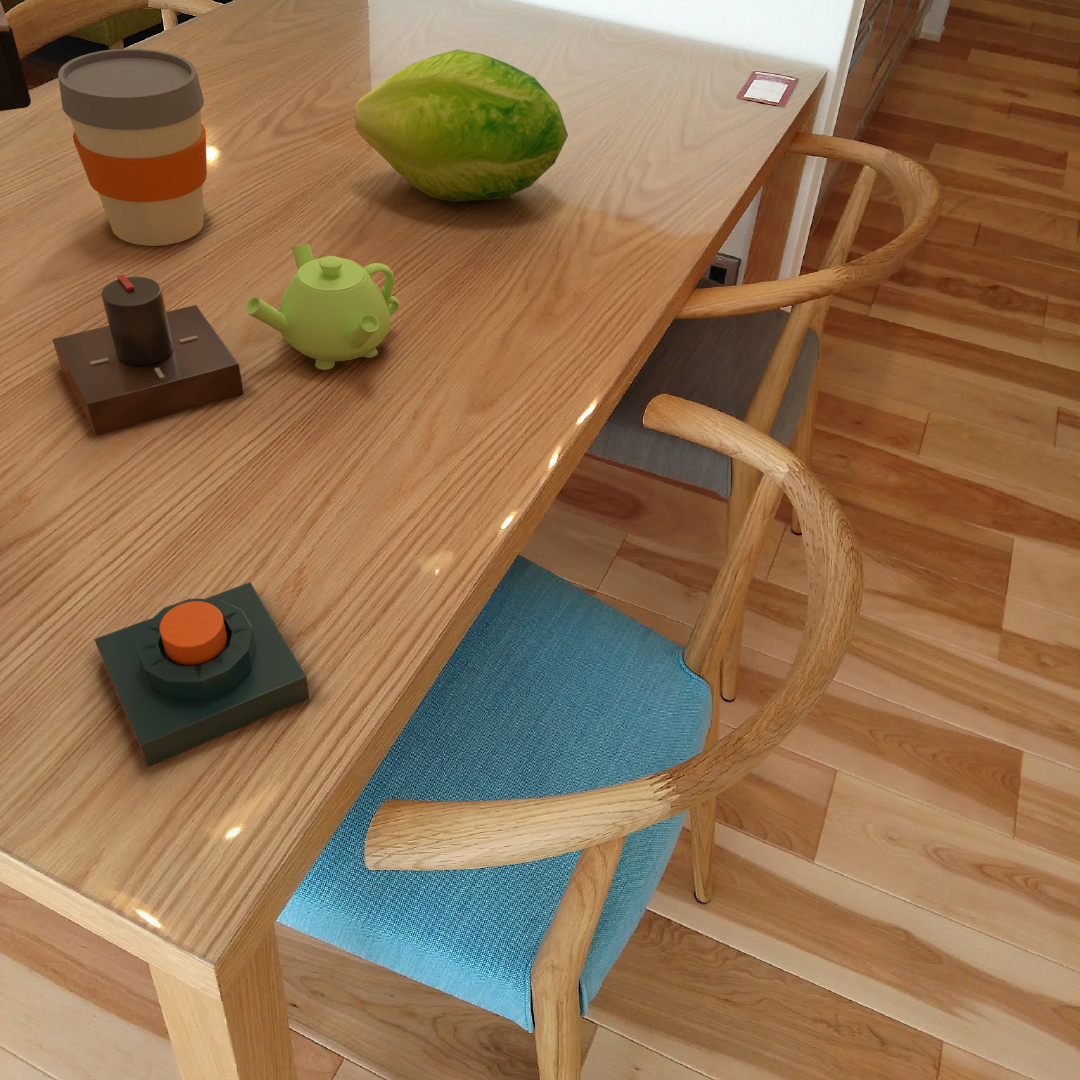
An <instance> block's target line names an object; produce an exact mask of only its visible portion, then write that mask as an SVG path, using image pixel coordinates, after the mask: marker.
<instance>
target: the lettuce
mask: <svg viewBox="0 0 1080 1080" xmlns="http://www.w3.org/2000/svg"><path fill="white" fill-rule="evenodd" d="M353 118H354V129H355V130H356V132H357V133H358V135H359V136H360V137H361V138H362V139H363V140H364V141H365V142H366V143H367V144H368V145H369V146H370V147H371V148H372V149H374V150H375V151H376V152H377V154H379V155H380V156H381V157H382V158H383V159H384V160H385V161H386V162H388V163H389V165H390V166H391V168H392V169H394V170H395V171H396V172H397V173H398V174H399V175H400V176H401V177H403V179H404V180H405V181H406V182H408V183H409V184H410V185H411V186H412V187H415V189H417V190H419V191H420V192H422V193H424V194H425V195H426V196H428V197H430V198H434V199H437V200H443V201H448V202H452V203H457V202H471V201H482V200H483V201H487V200H503V199H505V198H508V197H510V196H512V195H514V194H516V193H519V192H521V191H523V190H526V189H527V188H531V186H532V185H533V184H534V183H536V182H537V181H538V179H540V178H541V177H542V176H543V175H544V174H545V173H546V172H547V171H548V170H549V169H550V168H551V167H552V166H553V165H554V164H555V163H556V161H557V160H558V157H559V155H560V153H561V151H562V149H563V148H564V145H565V143H566V141H567V139H568V137H569V134H568V131H567V127H566V124H565V122H564V117H563V116H562V112H561V109H560V105H559V104H558V103H557V102H556V101H555V99H554V98H553V97H552V96H551V95H550V94H549V93H548V91H547V90H546V89H545V88H544V87H543V85H542V84H541V83H540V82H539V81H538V79H536V77H534V76H533V75H531V74H529V73H526V72H525V71H523V70H521V69H519V68H518V67H515V66H513V65H511V64H509V63H507V62H505V61H502V60H500V59H496V58H493V57H492V56H489V55H486V54H483V53H479V52H473V51H468V50H463V49H454V50H451V51H447V52H443V53H439V54H436V55H432V56H430V57H427V58H425V59H422V60H419V61H417V62H413V63H412V64H410V65H408V66H407V67H404V68H403V69H401V70H400V71H398V72H396V73H394V74H393V75H391V76H390V77H388V78H387V79H385V80H383V81H382V82H381V83H379V84H378V85H376V87H374V88H373V89H372V90H370V91H368V92H367V93H366V94H364V95H363V96H362V97H361V98H359V100H358V101H356V103H355V105H354V109H353Z"/></svg>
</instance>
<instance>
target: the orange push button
mask: <svg viewBox="0 0 1080 1080" xmlns="http://www.w3.org/2000/svg"><path fill="white" fill-rule="evenodd" d="M160 634H161V638H162V642H163V645H164V649H165V652H166V654H167V655H168V657H169V658H170V659H172V660H173V661H175V662H176V663H179V664H182V665H199V664H203V663H206V662H209V661H211V660H212V659H214V658H215V657H217V656H218V655H219V654H220V653H221V652H222V651H223V649H224V647H225V645H226V642H227V634H226V629H225V625H224V620H223V616H222V613H221V612H220V610H219V609H218V608H216V607H215V606H214V605H212V604H209V603H206V602H201V601H192V602H186V603H183V604H180V605H178V606H176V607H174V608H172V609H171V610H170V611H168V612H167V613H166V614H165V616H164V617H163V619H162V621H161V623H160Z"/></svg>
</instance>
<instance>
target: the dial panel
mask: <svg viewBox="0 0 1080 1080" xmlns="http://www.w3.org/2000/svg"><path fill="white" fill-rule="evenodd" d="M166 314H167V319H168V324H169V329H170V334H171V339H172V343H173V351H172V353H171V355H170V356H169V357H168V358H166V359H165V360H163V361H161V362H158V363H156V364H152V365H145V366H136V365H130V364H127V363H124V362H123V361H121V360H120V359H119V358H118V357H117V354H116V351H115V347H114V343H113V339H112V335H111V331H110V327H109V325H105V326H101V327H96V328H92V329H88V330H84V331H80V332H75V333H71V334H67V335H64V336H59V337H55V338H54V337H53V339H52V344H53V346H54V350H55V353H56V356H57V361H58V363H59V367H60V370H61V372H62V373H63V375H64V377H65V379H66V381H67V383H68V385H69V387H70V388H71V391H72V392H73V395H74V397H75V398H76V400H77V402H78V404H79V405H80V408H81V409H82V411H83V413H84V415H85V417H86V419H87V421H88V423H89V425H90V427H91V429H92V430H93V432H94V434H95V435H100V434H101V435H102V434H104V433H108V432H111V431H115V430H118V429H122V428H125V427H129V426H132V425H136V424H140V423H143V422H147V421H150V420H154V419H157V418H161V417H164V416H168V415H172V414H175V413H179V412H183V411H186V410H190V409H194V408H196V407H197V408H198V407H200V406H204V405H208V404H210V403H215V402H218V401H222V400H225V399H230V398H232V397H236V396H239V395H243V394H244V389H243V387H244V386H243V384H242V383H243V382H242V381H243V380H242V376H241V369H240V364H239V362H238V361H237V359H236V358H235V357H234V355H233V354H232V351H230V350H229V348H228V347H227V346H226V344H225V343H224V341H223V339H221V337H220V336H219V334H218V333H217V331H216V330H215V328H213V326H212V325H211V323H210V322H209V320H208V319H207V317H206V316H205V315H204V314H203V312H202V311H201V310H200V308H199V307H198V305H197V304H193V305H191V306H186V307H182V308H178V309H177V308H176V309H174V310H169V311H166Z"/></svg>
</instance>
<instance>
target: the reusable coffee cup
mask: <svg viewBox="0 0 1080 1080" xmlns="http://www.w3.org/2000/svg"><path fill="white" fill-rule="evenodd" d="M57 78H58V84H59V92H60V100H61V106H62V110H63V113H64V114H65V115H66V116H68V117H69V120H70V122H71V125H72V127H73V135H72V140H73V143H74V145H75V148H76V151H77V154H78V156H79V158H80V159H79V160H80V161H81V164H82V166H83V169H84V172H85V175H86V178H87V180H88V183H89V185H90V186H91V188H92V189H93V190H94V191H95V192H97V193H98V196H99V199H100V202H101V204H102V207H103V210H104V212H105V215H106V217H107V220H108V223H109V225H110V228H111V231H112V233H113V234H114V235H115V236H116V237H117V238H118V239H120V240H122V241H124V242H127V243H129V244H133V245H138V246H147V247H154V246H155V247H158V246H169V245H174V244H178V243H181V242H184V241H187V240H189V239H192V238H193V237H194V236H196V235H198V234H199V232H201V230H202V229H203V227H204V222H205V221H204V220H205V219H204V183H205V181H206V180H207V176H208V171H207V169H208V165H207V163H208V162H207V131H206V128H205V126H204V124H203V123H202V108H203V106H204V102H205V98H204V95H203V91H202V88H201V83H200V80H199V79H200V78H199V76H198V71H197V68H196V66H195V65H194V64H193V62H191V61H190V60H188V59H186V58H184V57H183V56H180V55H177V54H175V53H172V52H168V51H162V50H156V49H146V48H116V49H115V48H114V49H106V50H100V51H99V50H98V51H95V52H90V53H87V54H84V55H79V56H77V57H74V58H73V59H70V60H68V61H67V62H66V63H64V64H63V65H62V66H61V67H60V68H59V70H58V73H57Z"/></svg>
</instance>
